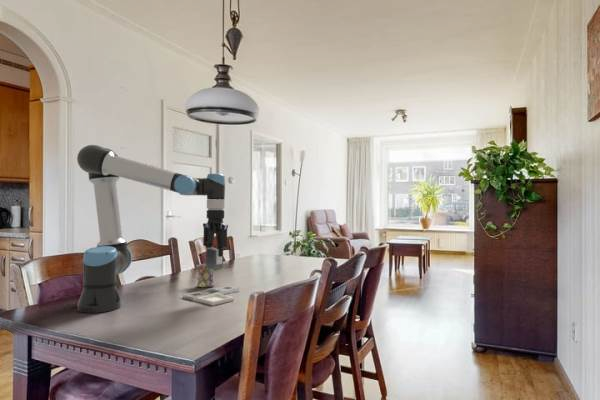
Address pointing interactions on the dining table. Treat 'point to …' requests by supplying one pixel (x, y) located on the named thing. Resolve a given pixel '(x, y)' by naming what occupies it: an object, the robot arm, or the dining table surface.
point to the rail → (218, 290)
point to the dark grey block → (212, 259)
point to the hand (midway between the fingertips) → (214, 263)
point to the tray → (214, 299)
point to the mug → (204, 276)
